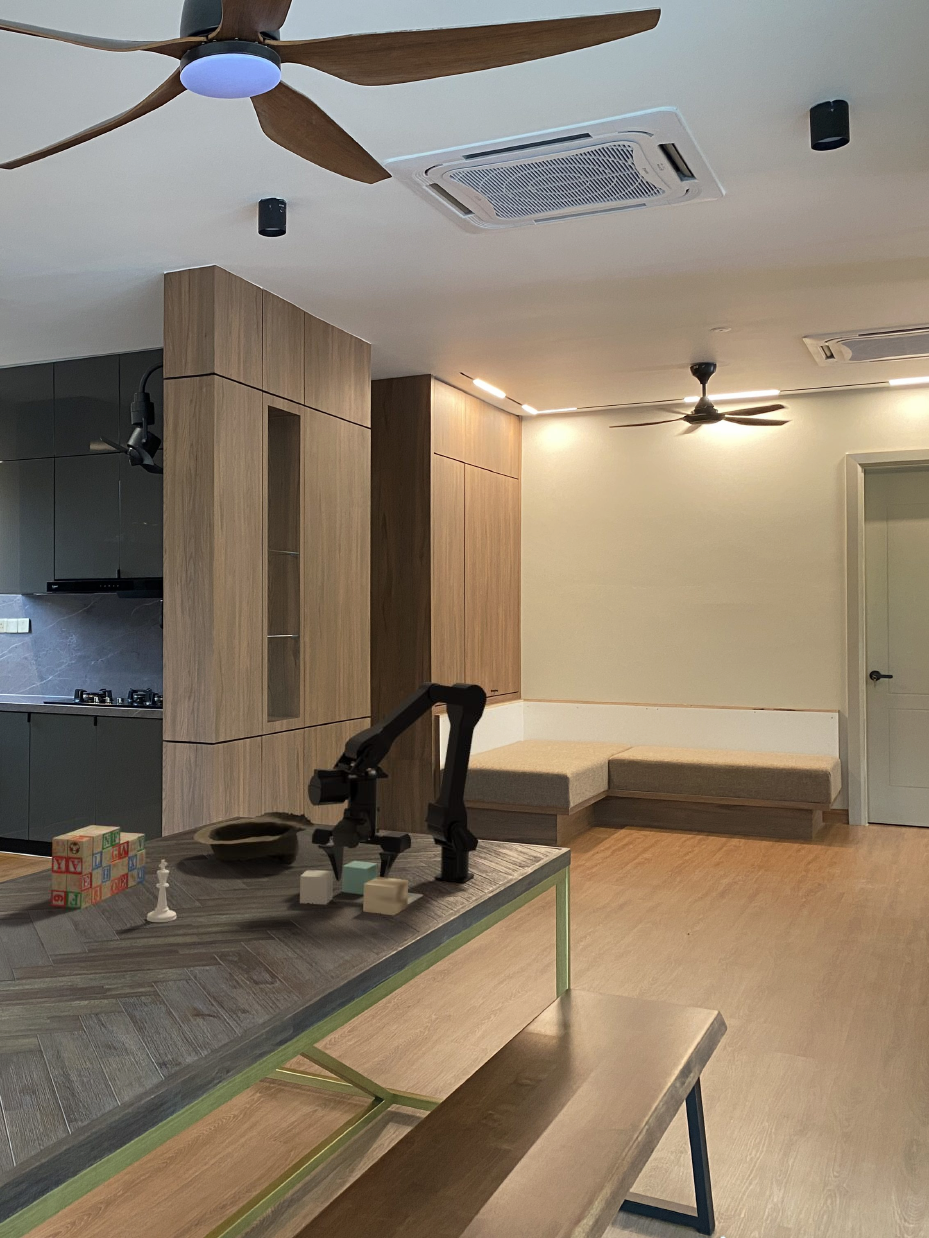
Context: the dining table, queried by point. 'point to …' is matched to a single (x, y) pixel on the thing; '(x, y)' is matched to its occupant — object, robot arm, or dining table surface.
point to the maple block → (385, 895)
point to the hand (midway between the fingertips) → (360, 883)
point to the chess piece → (162, 899)
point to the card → (413, 897)
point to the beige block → (316, 887)
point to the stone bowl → (256, 837)
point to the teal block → (358, 876)
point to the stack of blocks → (95, 865)
